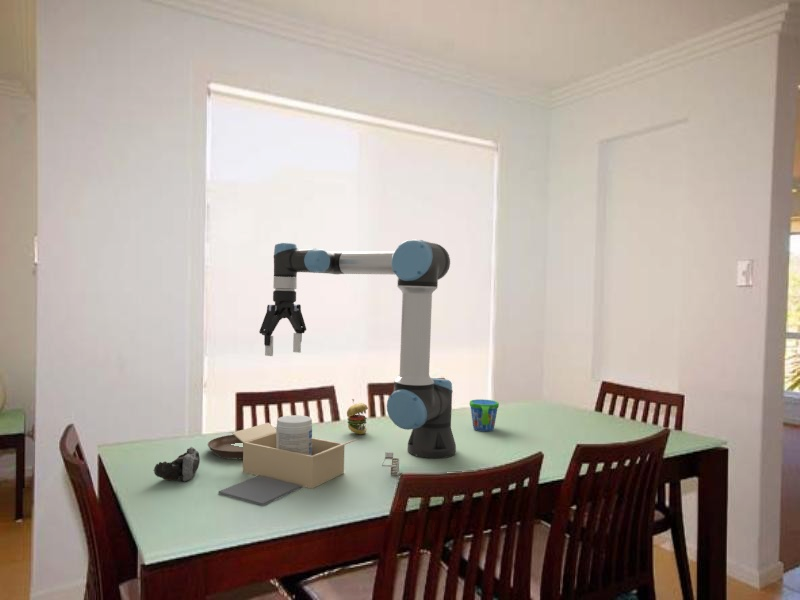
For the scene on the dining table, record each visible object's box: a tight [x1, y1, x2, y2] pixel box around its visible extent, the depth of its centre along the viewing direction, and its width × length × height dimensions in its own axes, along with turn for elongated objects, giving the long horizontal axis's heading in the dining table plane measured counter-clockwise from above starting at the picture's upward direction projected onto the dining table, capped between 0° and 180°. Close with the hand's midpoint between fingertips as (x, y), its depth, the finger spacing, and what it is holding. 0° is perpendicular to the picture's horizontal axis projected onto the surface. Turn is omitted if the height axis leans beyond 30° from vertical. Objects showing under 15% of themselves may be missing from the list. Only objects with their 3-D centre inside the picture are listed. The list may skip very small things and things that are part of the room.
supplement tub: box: [276, 414, 313, 456], centre depth 152 cm, size 10×10×15 cm
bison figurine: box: [153, 446, 201, 483], centre depth 147 cm, size 12×7×10 cm
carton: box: [231, 422, 358, 489], centre depth 152 cm, size 32×14×10 cm, turn 62°
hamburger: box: [346, 398, 368, 435], centre depth 195 cm, size 8×7×12 cm
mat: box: [218, 475, 302, 507], centre depth 138 cm, size 14×14×1 cm
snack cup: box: [469, 398, 500, 432], centre depth 206 cm, size 16×10×10 cm
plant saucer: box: [207, 434, 243, 460], centre depth 171 cm, size 21×21×3 cm
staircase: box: [381, 452, 400, 475], centre depth 153 cm, size 6×4×6 cm, turn 174°
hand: (283, 354), depth 187 cm, fingers open, 13 cm apart
